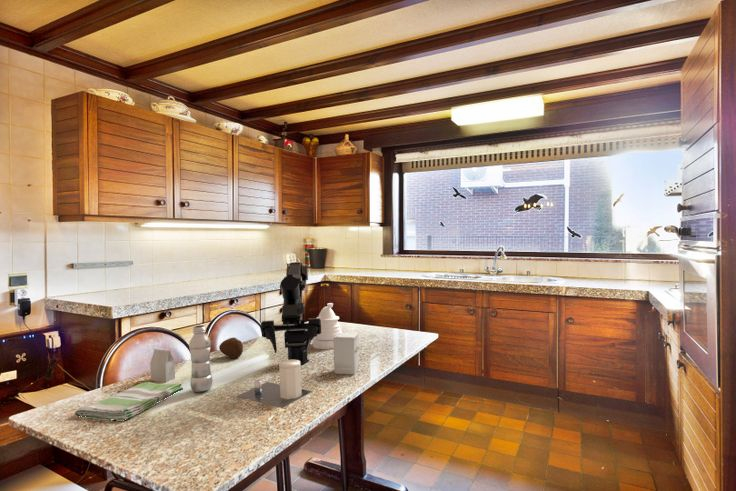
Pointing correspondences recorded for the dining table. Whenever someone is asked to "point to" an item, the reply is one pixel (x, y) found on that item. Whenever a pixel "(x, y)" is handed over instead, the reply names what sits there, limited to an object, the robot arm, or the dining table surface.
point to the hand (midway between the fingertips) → (290, 351)
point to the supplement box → (346, 353)
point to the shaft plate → (269, 394)
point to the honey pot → (327, 328)
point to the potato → (231, 347)
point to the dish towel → (129, 402)
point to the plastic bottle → (200, 360)
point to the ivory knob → (290, 379)
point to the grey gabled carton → (162, 366)
